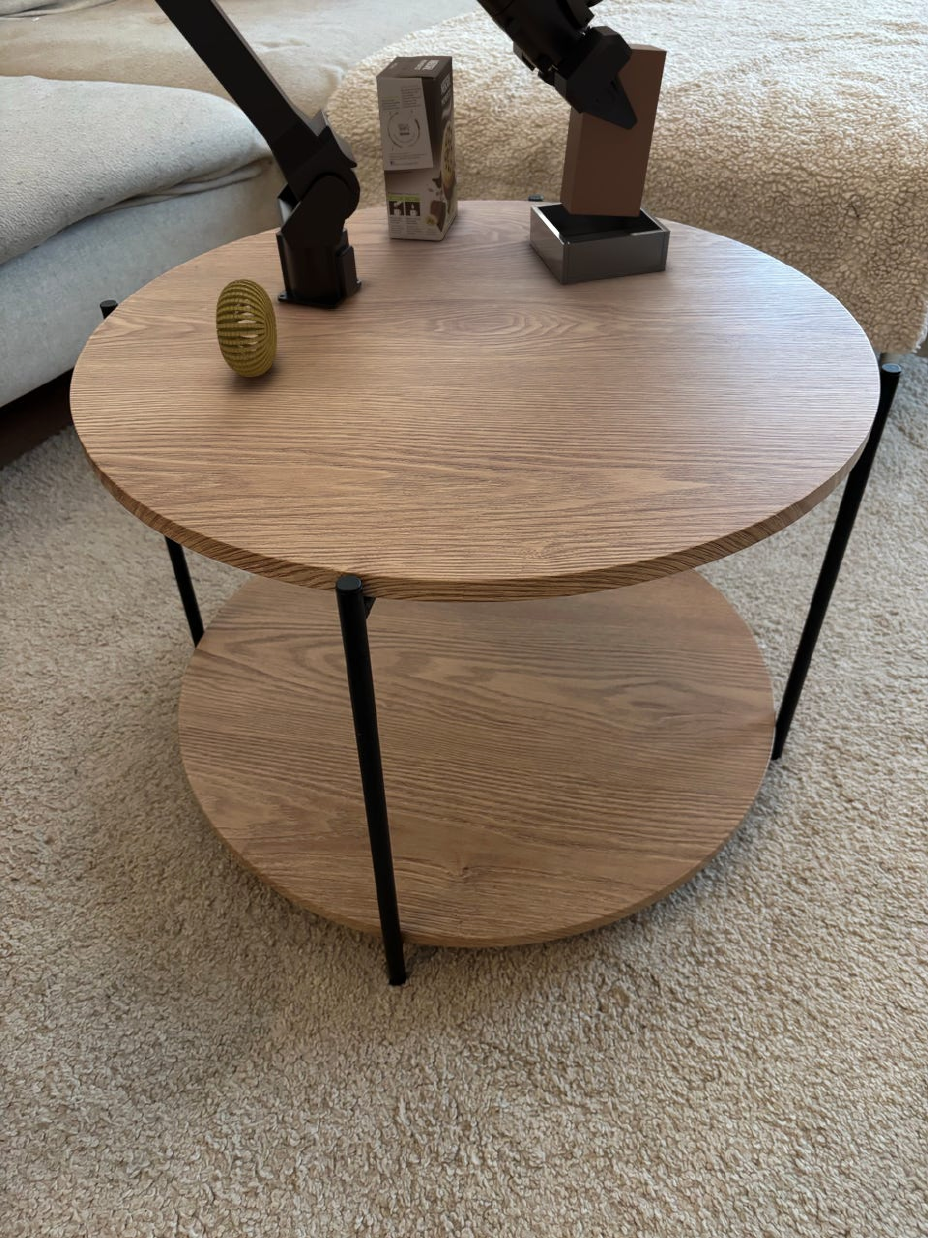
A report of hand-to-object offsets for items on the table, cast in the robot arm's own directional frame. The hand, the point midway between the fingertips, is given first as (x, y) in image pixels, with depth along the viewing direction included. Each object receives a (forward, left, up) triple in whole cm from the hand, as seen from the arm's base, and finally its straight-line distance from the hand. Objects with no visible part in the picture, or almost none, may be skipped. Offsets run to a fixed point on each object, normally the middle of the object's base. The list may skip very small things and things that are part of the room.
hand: (623, 116), depth 86 cm
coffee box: (-23, +3, -14) cm, 27 cm away
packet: (-1, -2, -8) cm, 8 cm away
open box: (-2, 0, -13) cm, 14 cm away
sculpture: (-24, -33, -14) cm, 43 cm away
